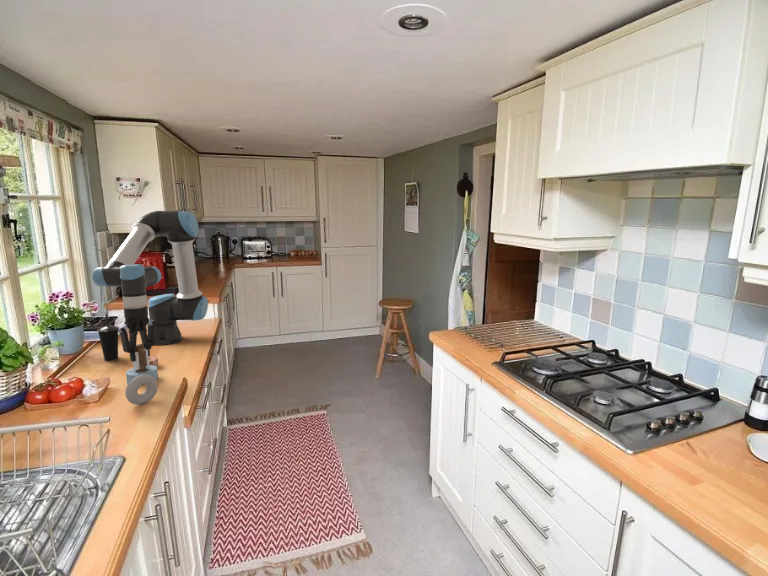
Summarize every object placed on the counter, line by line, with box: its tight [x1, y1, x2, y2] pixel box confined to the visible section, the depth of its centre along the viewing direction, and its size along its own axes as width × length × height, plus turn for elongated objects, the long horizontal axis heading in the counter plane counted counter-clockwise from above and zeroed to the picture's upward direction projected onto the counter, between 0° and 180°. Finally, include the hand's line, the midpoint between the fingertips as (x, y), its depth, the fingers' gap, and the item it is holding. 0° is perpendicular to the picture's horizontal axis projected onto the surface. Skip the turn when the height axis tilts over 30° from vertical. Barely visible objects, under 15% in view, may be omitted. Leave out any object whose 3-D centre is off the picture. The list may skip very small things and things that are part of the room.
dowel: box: [136, 343, 146, 372], centre depth 150 cm, size 3×3×14 cm
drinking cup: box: [96, 313, 119, 362], centre depth 171 cm, size 8×8×20 cm
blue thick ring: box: [125, 365, 159, 385], centre depth 151 cm, size 10×10×4 cm
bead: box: [148, 355, 159, 368], centre depth 164 cm, size 8×8×4 cm
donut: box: [124, 374, 159, 406], centre depth 132 cm, size 10×3×10 cm, turn 148°
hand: (141, 367), depth 150 cm, fingers closed on dowel, 3 cm apart
